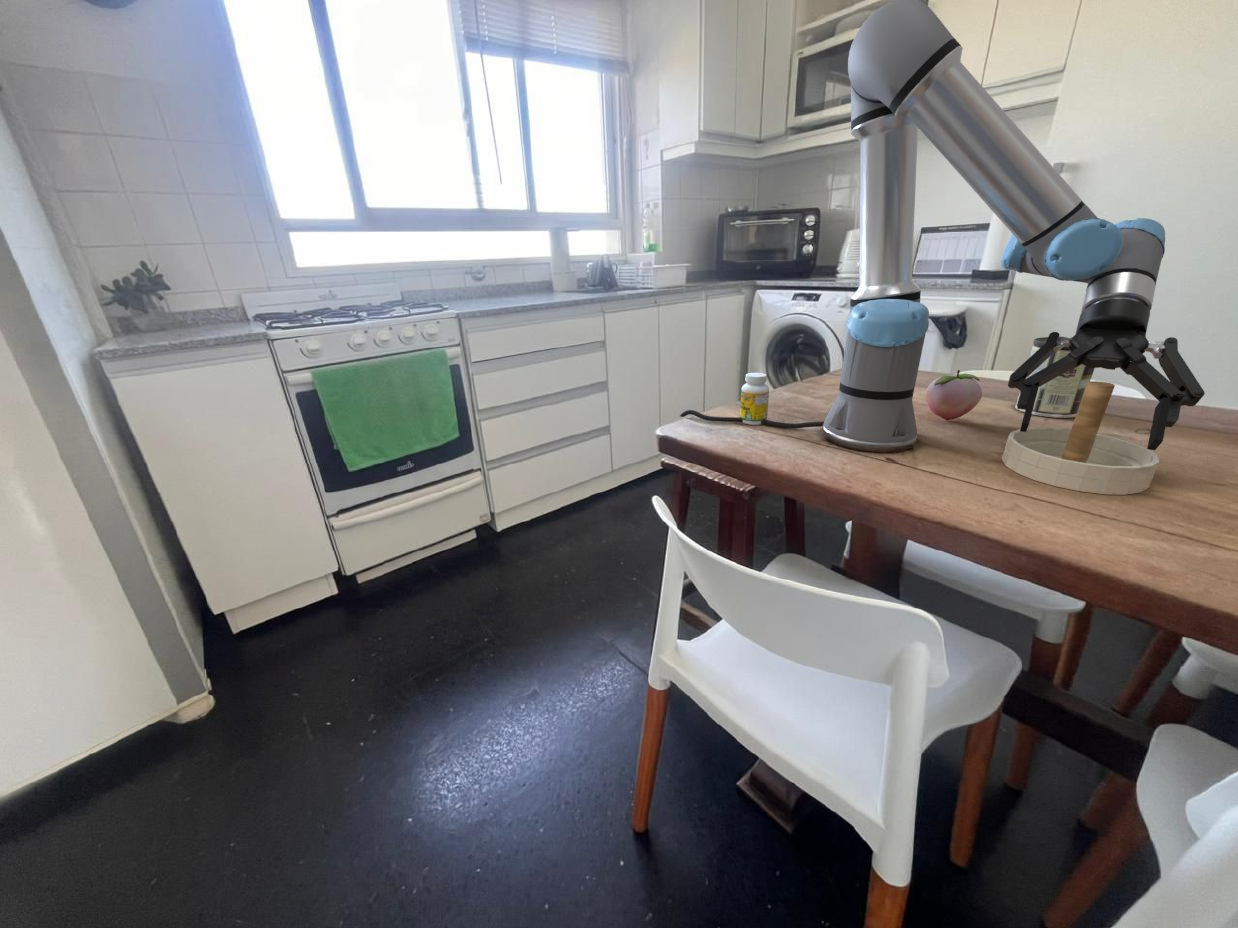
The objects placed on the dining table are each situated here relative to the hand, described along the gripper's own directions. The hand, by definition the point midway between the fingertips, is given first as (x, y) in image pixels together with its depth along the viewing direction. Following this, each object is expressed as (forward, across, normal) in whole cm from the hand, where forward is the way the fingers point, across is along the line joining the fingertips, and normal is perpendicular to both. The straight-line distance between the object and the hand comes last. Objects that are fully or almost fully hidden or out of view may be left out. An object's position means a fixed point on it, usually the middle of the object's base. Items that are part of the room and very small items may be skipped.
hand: (1085, 436), depth 69 cm
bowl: (+3, 0, -6) cm, 7 cm away
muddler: (+3, 0, -6) cm, 6 cm away
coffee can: (-22, +3, -32) cm, 39 cm away
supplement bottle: (+5, +49, -5) cm, 50 cm away
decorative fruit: (-10, +18, -20) cm, 29 cm away
